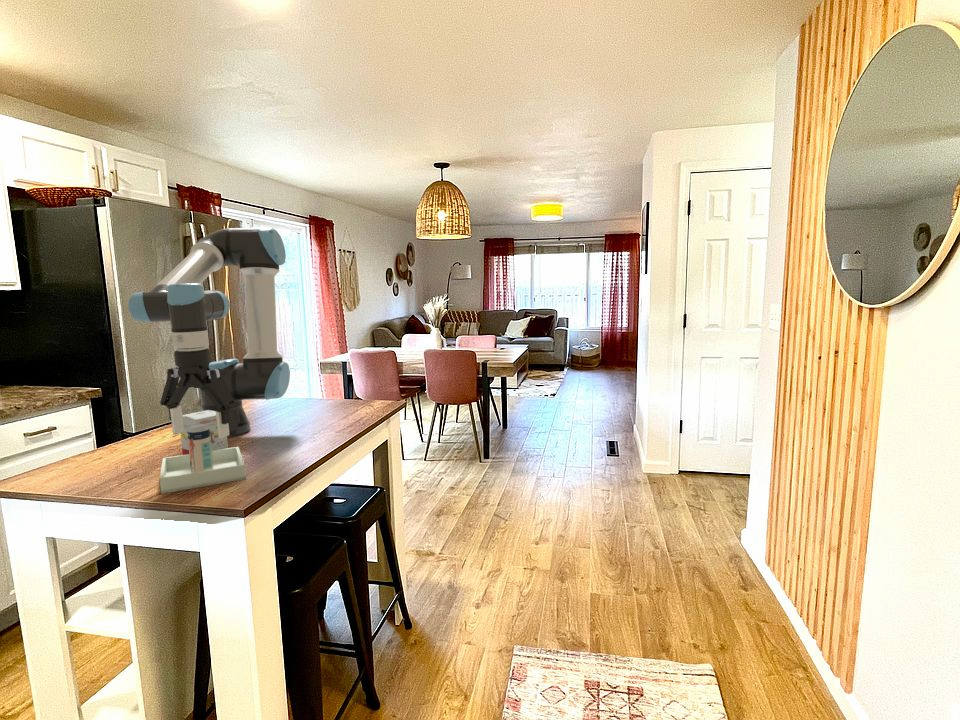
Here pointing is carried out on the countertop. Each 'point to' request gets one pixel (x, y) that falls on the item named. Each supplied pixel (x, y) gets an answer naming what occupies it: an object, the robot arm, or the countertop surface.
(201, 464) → the beer can
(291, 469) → the countertop surface
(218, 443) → the ink box
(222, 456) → the bin
